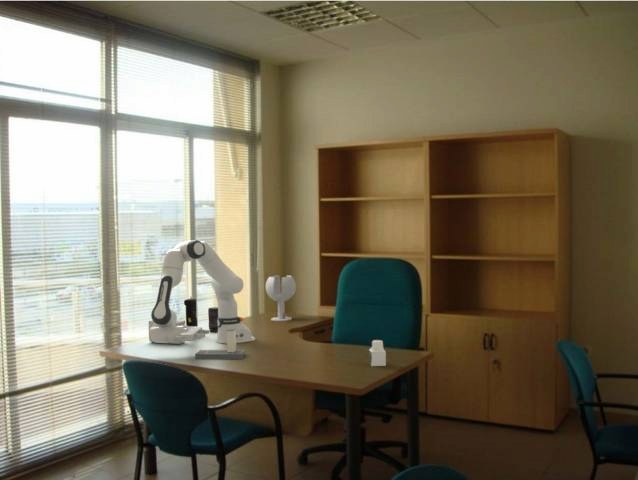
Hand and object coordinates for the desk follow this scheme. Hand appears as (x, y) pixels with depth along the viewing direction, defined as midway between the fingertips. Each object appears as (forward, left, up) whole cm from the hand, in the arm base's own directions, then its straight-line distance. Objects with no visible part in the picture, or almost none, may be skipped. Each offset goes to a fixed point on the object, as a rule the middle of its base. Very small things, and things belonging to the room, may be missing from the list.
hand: (207, 333), depth 355 cm
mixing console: (-6, +5, -12) cm, 14 cm away
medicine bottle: (-67, +61, -12) cm, 91 cm away
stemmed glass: (-80, -89, -12) cm, 120 cm away
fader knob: (-11, +8, -9) cm, 16 cm away
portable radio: (-8, -58, -12) cm, 60 cm away
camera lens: (-26, -68, -12) cm, 74 cm away
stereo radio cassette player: (+9, -47, -12) cm, 50 cm away
